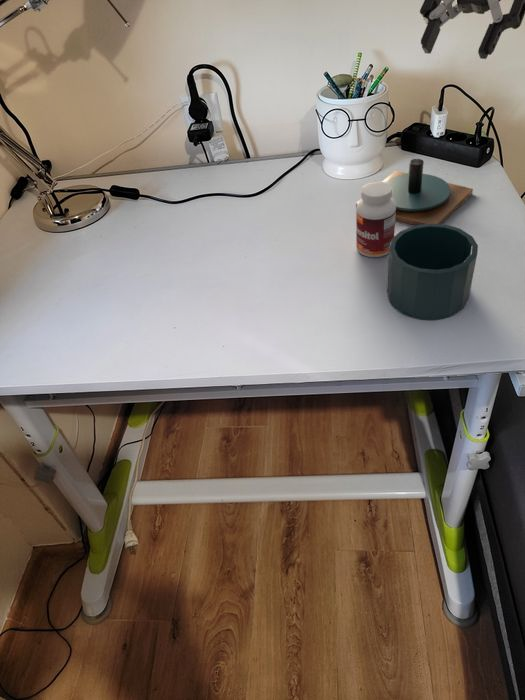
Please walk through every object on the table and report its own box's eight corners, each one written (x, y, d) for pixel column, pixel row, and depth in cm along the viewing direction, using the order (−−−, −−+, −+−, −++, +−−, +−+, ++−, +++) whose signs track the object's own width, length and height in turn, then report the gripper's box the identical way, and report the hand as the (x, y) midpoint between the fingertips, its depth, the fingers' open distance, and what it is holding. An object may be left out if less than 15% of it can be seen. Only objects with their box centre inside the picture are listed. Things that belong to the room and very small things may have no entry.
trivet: (472, 193, 93) (473, 188, 93) (434, 231, 87) (434, 226, 86) (395, 174, 102) (395, 170, 101) (355, 207, 95) (355, 203, 95)
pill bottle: (348, 250, 87) (347, 191, 79) (371, 233, 89) (372, 174, 81) (378, 263, 83) (379, 203, 75) (401, 245, 85) (405, 185, 78)
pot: (482, 285, 76) (492, 237, 70) (443, 331, 71) (451, 283, 65) (412, 261, 82) (416, 215, 76) (372, 301, 77) (373, 255, 71)
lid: (462, 188, 93) (467, 153, 88) (427, 221, 87) (431, 186, 83) (401, 173, 100) (403, 140, 95) (365, 203, 94) (365, 169, 90)
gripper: (448, -85, 70) (399, 35, 73) (555, -92, 63) (497, 42, 66) (461, -46, 77) (416, 62, 79) (560, -49, 69) (507, 72, 72)
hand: (452, 53), depth 73 cm, fingers open, 8 cm apart
